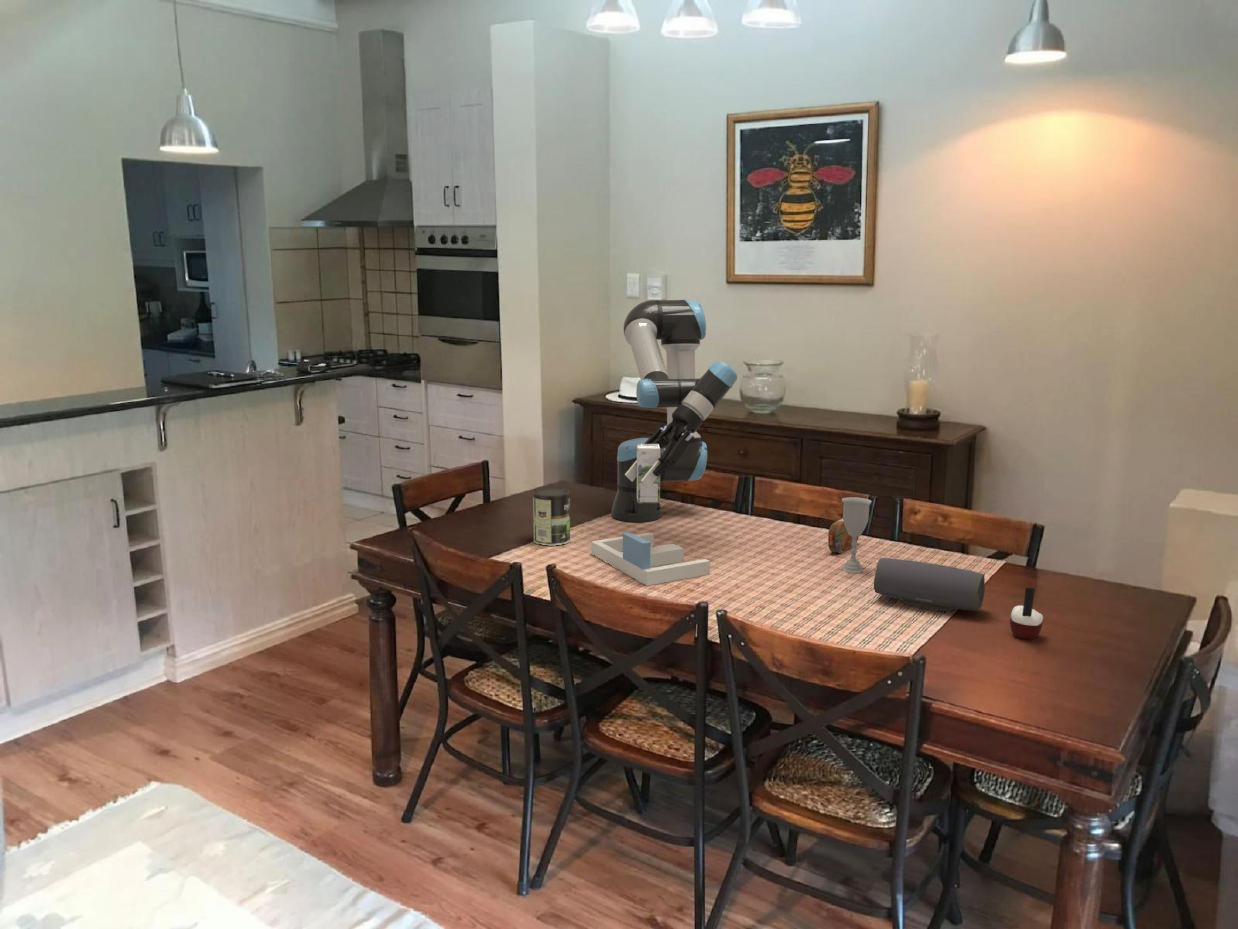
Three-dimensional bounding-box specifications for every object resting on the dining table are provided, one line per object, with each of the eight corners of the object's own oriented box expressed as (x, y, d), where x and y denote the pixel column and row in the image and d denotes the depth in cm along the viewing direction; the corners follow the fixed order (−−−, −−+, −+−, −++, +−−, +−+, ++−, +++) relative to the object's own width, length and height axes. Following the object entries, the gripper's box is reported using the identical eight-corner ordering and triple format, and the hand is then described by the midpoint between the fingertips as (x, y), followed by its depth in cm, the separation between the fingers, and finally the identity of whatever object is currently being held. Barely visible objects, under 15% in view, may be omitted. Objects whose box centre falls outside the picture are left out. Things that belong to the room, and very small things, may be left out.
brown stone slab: (836, 557, 260) (837, 526, 259) (825, 554, 262) (826, 524, 260) (859, 544, 272) (861, 514, 270) (849, 542, 274) (850, 512, 272)
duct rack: (591, 554, 262) (591, 517, 259) (649, 544, 270) (650, 509, 268) (647, 585, 237) (647, 545, 235) (709, 574, 245) (710, 535, 243)
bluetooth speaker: (983, 609, 222) (987, 566, 220) (975, 622, 215) (978, 578, 213) (883, 591, 234) (885, 551, 232) (871, 603, 226) (874, 561, 224)
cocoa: (1017, 629, 212) (1021, 574, 210) (1047, 635, 207) (1052, 580, 206) (1000, 639, 205) (1004, 583, 203) (1031, 646, 201) (1035, 589, 199)
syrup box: (658, 498, 254) (659, 442, 251) (660, 503, 248) (660, 447, 246) (636, 498, 254) (636, 443, 251) (637, 504, 248) (637, 447, 245)
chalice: (834, 571, 248) (838, 501, 244) (842, 564, 254) (845, 496, 250) (863, 575, 245) (867, 505, 241) (870, 568, 251) (874, 499, 247)
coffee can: (571, 536, 278) (571, 487, 275) (569, 546, 268) (568, 496, 265) (535, 535, 278) (534, 487, 276) (531, 546, 268) (530, 495, 265)
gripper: (722, 428, 246) (666, 498, 241) (679, 417, 263) (626, 482, 259) (705, 408, 242) (647, 479, 238) (662, 398, 260) (608, 464, 256)
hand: (636, 481), depth 249 cm, fingers closed on syrup box, 7 cm apart
